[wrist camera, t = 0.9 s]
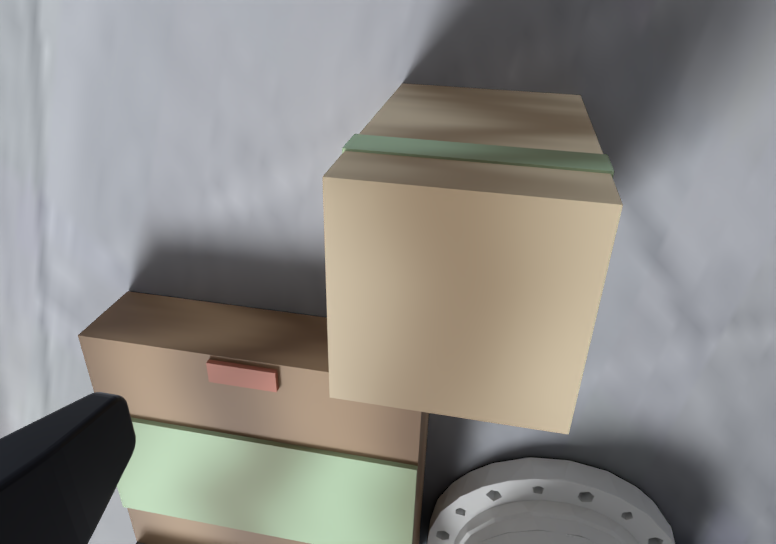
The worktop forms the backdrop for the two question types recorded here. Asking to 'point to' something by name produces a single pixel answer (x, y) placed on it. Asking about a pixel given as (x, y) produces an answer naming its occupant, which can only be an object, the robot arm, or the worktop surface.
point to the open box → (250, 430)
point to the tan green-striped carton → (468, 254)
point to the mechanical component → (545, 507)
